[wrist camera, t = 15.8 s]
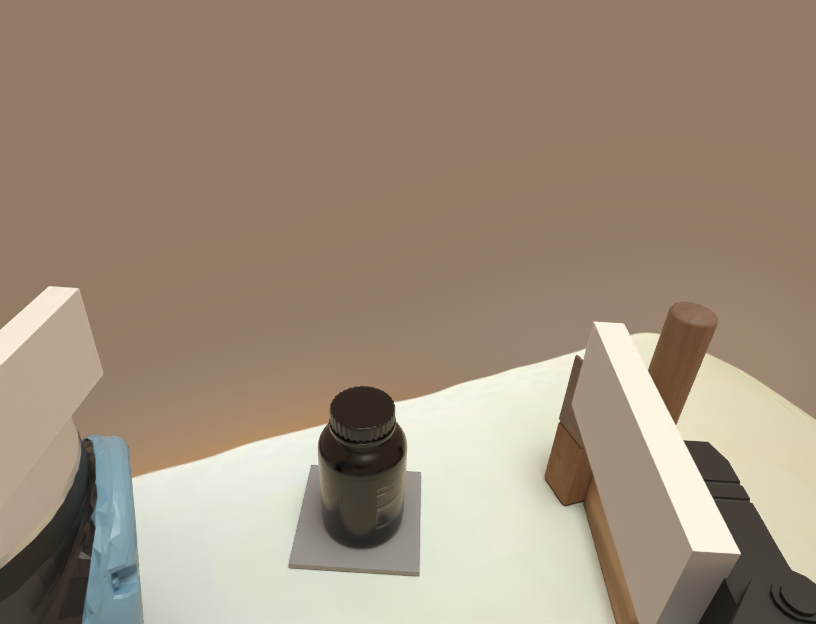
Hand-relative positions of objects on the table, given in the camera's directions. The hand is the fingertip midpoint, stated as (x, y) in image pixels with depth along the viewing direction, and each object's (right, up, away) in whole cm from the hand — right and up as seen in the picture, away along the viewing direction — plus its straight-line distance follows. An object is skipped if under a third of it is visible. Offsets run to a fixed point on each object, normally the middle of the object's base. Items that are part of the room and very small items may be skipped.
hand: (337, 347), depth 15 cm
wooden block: (+20, -15, +39) cm, 46 cm away
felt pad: (-2, -16, +34) cm, 38 cm away
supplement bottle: (-2, -16, +34) cm, 37 cm away
